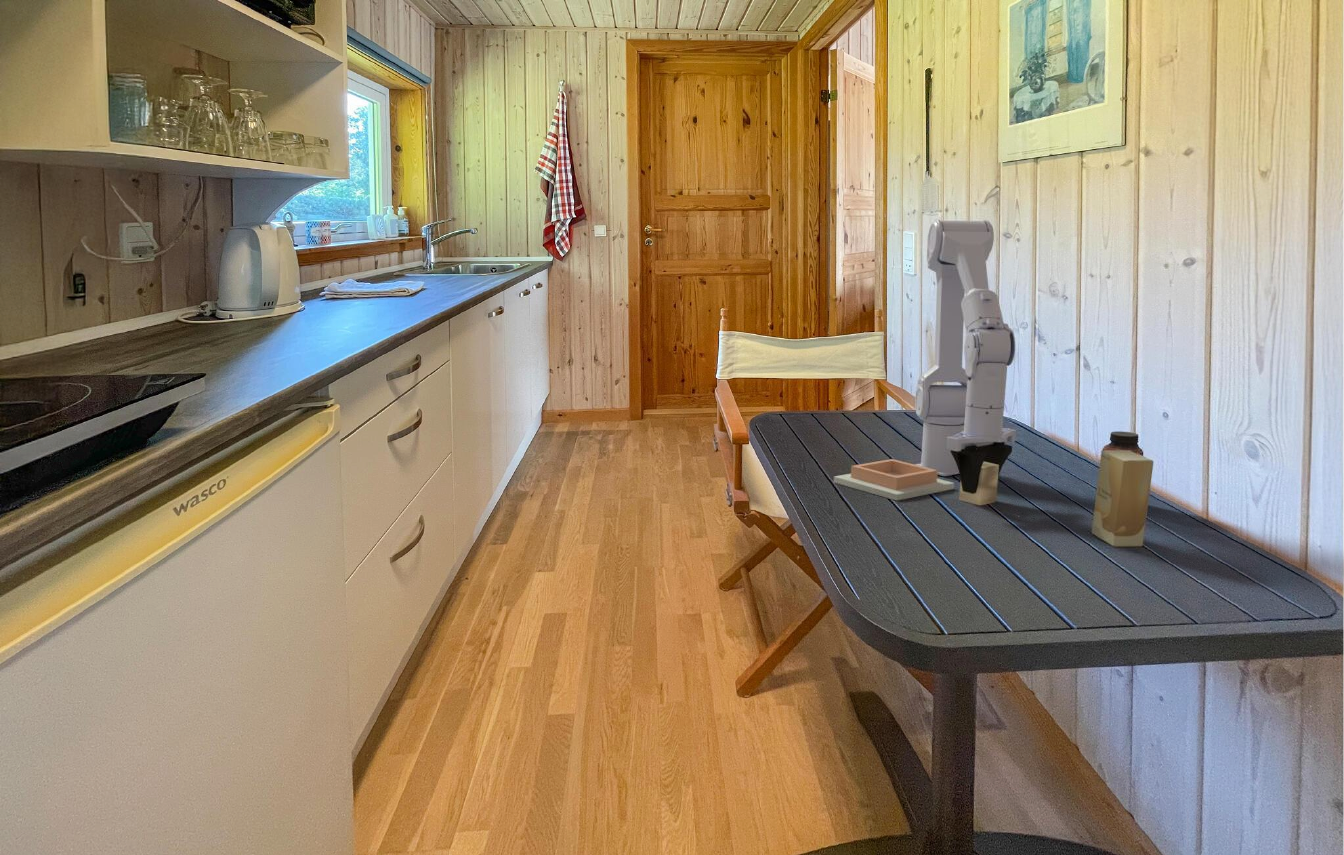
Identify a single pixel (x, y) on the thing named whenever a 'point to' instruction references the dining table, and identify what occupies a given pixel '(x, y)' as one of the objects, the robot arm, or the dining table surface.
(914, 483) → the collar board
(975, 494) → the maple peg
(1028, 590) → the dining table surface
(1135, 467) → the skincare box
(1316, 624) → the dining table surface
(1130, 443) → the supplement bottle
